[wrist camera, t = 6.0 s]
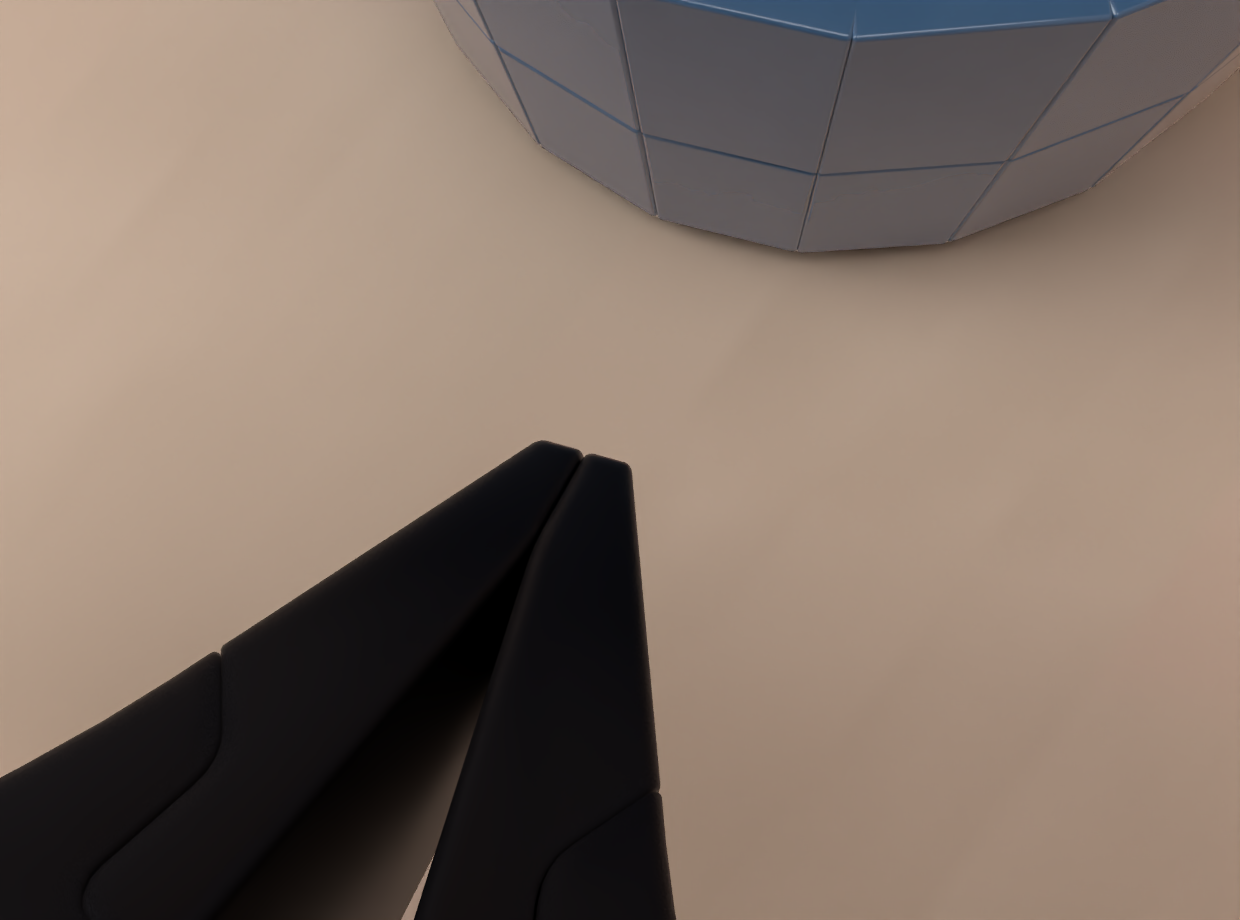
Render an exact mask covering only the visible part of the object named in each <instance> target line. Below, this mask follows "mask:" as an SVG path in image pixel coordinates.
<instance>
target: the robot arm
mask: <svg viewBox="0 0 1240 920" xmlns="http://www.w3.org/2000/svg"><path fill="white" fill-rule="evenodd" d="M659 789H660V778H659V767H658V756H657V745H656V734H655V723H654V712H653V701H652V690H651V679H650V668H649V656H648V645H647V634H646V623H645V612H644V601H643V590H642V579H641V568H640V557H639V546H638V535H637V524H636V513H635V502H634V491H633V480H632V471H631V468H630V466H629V465H628V464H627V463H625V462H621V461H618V460H614V459H610V458H607V457H603V456H599V455H596V454H588V455H586V456H585V457H583V455H582V453H581V452H580V451H579V450H577V449H574V448H571V447H567V446H563V445H560V444H556V443H552V442H549V441H543V440H541V441H537V442H534V443H533V444H531V445H530V446H528V447H526V448H525V449H523V450H522V451H520V452H519V453H517V454H516V455H514V456H513V457H511V458H510V459H508V460H507V461H505V462H503V463H502V464H500V465H499V466H497V467H496V468H494V469H493V470H491V471H490V472H488V473H487V474H485V475H484V476H482V477H481V478H479V479H477V480H476V481H474V482H473V483H471V484H470V485H468V486H467V487H465V488H464V489H462V490H461V491H459V492H458V493H456V494H454V495H453V496H451V497H450V498H448V499H447V500H445V501H444V502H442V503H441V504H439V505H438V506H436V507H435V508H433V509H431V510H430V511H428V512H427V513H425V514H424V515H422V516H421V517H419V518H418V519H416V520H415V521H413V522H412V523H410V524H409V525H407V526H405V527H404V528H402V529H401V530H399V531H398V532H396V533H395V534H393V535H392V536H390V537H389V538H387V539H386V540H384V541H382V542H381V543H379V544H378V545H376V546H375V547H373V548H372V549H370V550H369V551H367V552H366V553H364V554H363V555H361V556H359V557H358V558H356V559H355V560H353V561H352V562H350V563H349V564H347V565H346V566H344V567H343V568H341V569H340V570H338V571H337V572H335V573H333V574H332V575H330V576H329V577H327V578H326V579H324V580H323V581H321V582H320V583H318V584H317V585H315V586H314V587H312V588H310V589H309V590H307V591H306V592H304V593H303V594H301V595H300V596H298V597H297V598H295V599H294V600H292V601H291V602H289V603H287V604H286V605H284V606H283V607H281V608H280V609H278V610H277V611H275V612H274V613H272V614H271V615H269V616H268V617H266V618H265V619H263V620H261V621H260V622H258V623H257V624H255V625H254V626H252V627H251V628H249V629H248V630H246V631H245V632H243V633H242V634H240V635H238V636H237V637H235V638H234V639H232V640H231V641H229V642H228V643H226V644H225V645H223V647H222V648H221V655H220V654H219V653H217V652H212V653H210V654H209V655H207V656H206V657H204V658H203V659H201V660H199V661H198V662H196V663H195V664H193V665H192V666H190V667H189V668H187V669H186V670H184V671H183V672H181V673H180V674H178V675H176V676H175V677H173V678H172V679H170V680H169V681H167V682H165V683H164V684H162V685H161V686H159V687H157V688H156V689H154V690H153V691H151V692H149V693H148V694H146V695H144V696H143V697H141V698H140V699H138V700H136V701H135V702H133V703H132V704H130V705H128V706H127V707H125V708H123V709H122V710H120V711H119V712H117V713H115V714H114V715H112V716H111V717H109V718H107V719H106V720H104V721H102V722H100V723H99V724H97V725H95V726H93V727H91V728H90V729H88V730H86V731H84V732H83V733H81V734H79V735H77V736H75V737H74V738H72V739H70V740H68V741H66V742H65V743H63V744H61V745H59V746H57V747H56V748H54V749H52V750H50V751H49V752H47V753H45V754H43V755H41V756H40V757H38V758H36V759H34V760H32V761H31V762H29V763H27V764H25V765H23V766H21V767H20V768H18V769H16V770H14V771H12V772H10V773H8V774H6V775H5V776H3V777H1V778H0V920H401V919H402V917H403V915H404V913H405V911H406V909H407V907H408V905H409V903H410V901H411V899H412V897H413V895H414V893H415V891H416V889H417V887H418V885H419V883H420V881H421V879H422V877H423V875H424V873H425V871H426V869H427V867H428V865H429V863H430V861H431V859H432V857H433V855H434V853H435V855H434V858H433V861H432V864H431V867H430V870H429V874H428V877H427V880H426V883H425V886H424V889H423V892H422V896H421V899H420V902H419V905H418V908H417V911H416V914H415V918H414V920H676V916H675V910H674V903H673V895H672V887H671V879H670V871H669V863H668V855H667V847H666V839H665V828H664V817H663V806H662V797H661V795H660V794H659V793H658V792H659Z"/></svg>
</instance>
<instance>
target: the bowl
mask: <svg viewBox="0 0 1240 920" xmlns="http://www.w3.org/2000/svg"><path fill="white" fill-rule="evenodd" d="M433 1H434V3H435V5H436V7H437V8H438V10H439V12H440V14H441V16H442V18H443V20H444V22H445V24H446V26H447V28H448V29H449V31H450V33H451V35H452V37H453V39H454V41H455V42H456V44H457V46H458V47H459V49H460V50H461V51H462V52H463V53H464V55H465V56H466V57H467V58H468V60H469V61H470V62H471V63H472V64H473V66H474V67H475V68H476V69H477V71H478V72H479V73H480V74H481V75H482V77H483V78H484V79H485V80H486V82H487V83H488V84H489V85H490V86H491V88H492V89H493V90H494V91H495V93H496V94H497V95H498V96H499V97H500V99H501V100H502V101H503V102H504V104H505V105H506V106H507V107H508V108H509V110H510V111H511V112H512V113H513V115H514V116H515V117H516V118H517V120H518V121H519V122H520V123H521V124H522V126H523V127H524V128H525V129H526V131H527V132H528V133H529V134H530V135H531V137H532V138H533V139H534V140H535V142H536V143H537V144H539V145H540V144H541V146H542V147H543V148H544V149H546V150H548V151H549V152H551V153H552V154H554V155H556V156H557V157H559V158H560V159H562V160H564V161H565V162H567V163H569V164H570V165H572V166H573V167H575V168H577V169H578V170H580V171H581V172H583V173H585V174H586V175H588V176H589V177H591V178H593V179H594V180H596V181H597V182H599V183H601V184H602V185H604V186H605V187H607V188H609V189H610V190H612V191H613V192H615V193H617V194H618V195H620V196H622V197H623V198H625V199H626V200H628V201H630V202H631V203H633V204H634V205H636V206H638V207H639V208H641V209H642V210H644V211H646V212H647V213H649V214H650V215H653V216H656V215H658V217H659V218H660V219H662V220H666V221H670V222H674V223H678V224H682V225H686V226H690V227H694V228H699V229H703V230H707V231H711V232H715V233H719V234H723V235H727V236H731V237H735V238H739V239H743V240H747V241H752V242H756V243H760V244H764V245H768V246H772V247H776V248H780V249H784V250H788V251H796V250H798V252H800V253H806V252H822V251H837V250H853V249H869V248H884V247H900V246H915V245H931V244H944V243H946V242H947V241H955V240H958V239H960V238H963V237H965V236H968V235H971V234H973V233H976V232H979V231H981V230H984V229H986V228H989V227H992V226H994V225H997V224H1000V223H1002V222H1005V221H1007V220H1010V219H1013V218H1015V217H1018V216H1021V215H1023V214H1026V213H1029V212H1031V211H1034V210H1036V209H1039V208H1042V207H1044V206H1047V205H1050V204H1052V203H1055V202H1057V201H1060V200H1063V199H1065V198H1068V197H1071V196H1073V195H1076V194H1078V193H1081V192H1084V191H1086V190H1088V189H1089V188H1090V187H1094V186H1096V185H1097V184H1098V183H1099V182H1101V181H1102V180H1103V179H1104V178H1106V177H1107V176H1108V175H1110V174H1111V173H1112V172H1113V171H1115V170H1116V169H1117V168H1118V167H1120V166H1121V165H1122V164H1123V163H1125V162H1126V161H1127V160H1129V159H1130V158H1131V157H1132V156H1134V155H1135V154H1136V153H1137V152H1139V151H1140V150H1141V149H1143V148H1144V147H1145V146H1146V145H1148V144H1149V143H1150V142H1151V141H1153V140H1154V139H1155V138H1156V137H1158V136H1159V135H1160V134H1162V133H1163V132H1164V131H1165V130H1167V129H1168V128H1169V127H1170V126H1172V125H1173V124H1174V123H1175V122H1177V121H1178V120H1179V119H1181V118H1182V117H1183V116H1184V115H1186V114H1187V113H1188V112H1189V111H1191V110H1192V109H1193V108H1194V107H1196V106H1197V105H1198V104H1200V103H1201V102H1202V101H1203V100H1205V99H1206V98H1207V97H1208V96H1209V95H1211V94H1212V93H1213V92H1214V91H1215V90H1216V89H1217V88H1218V87H1219V86H1220V85H1221V84H1222V83H1224V82H1225V81H1226V80H1227V79H1228V78H1229V77H1230V76H1231V75H1232V74H1233V73H1234V72H1235V71H1237V70H1238V69H1239V68H1240V0H433Z"/></svg>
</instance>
